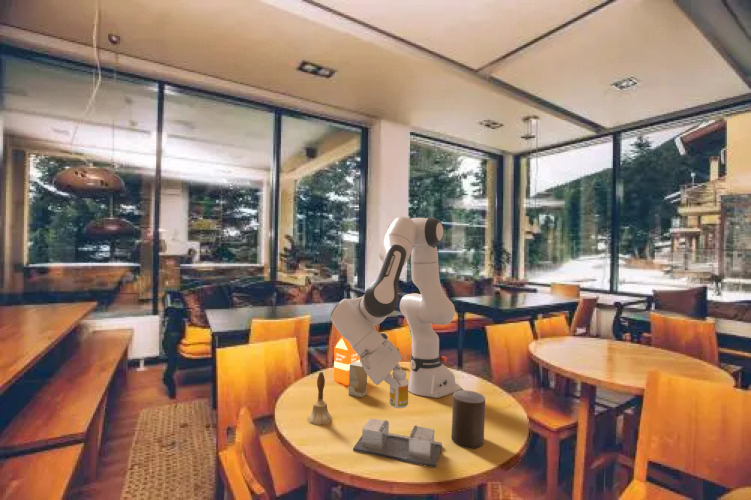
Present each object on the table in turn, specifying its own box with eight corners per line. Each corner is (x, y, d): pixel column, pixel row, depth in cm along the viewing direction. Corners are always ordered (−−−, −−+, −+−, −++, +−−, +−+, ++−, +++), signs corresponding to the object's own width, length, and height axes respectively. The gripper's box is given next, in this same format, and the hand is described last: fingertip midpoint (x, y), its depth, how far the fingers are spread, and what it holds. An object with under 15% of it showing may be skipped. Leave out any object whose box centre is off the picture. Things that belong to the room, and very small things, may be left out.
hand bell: (333, 413, 130) (333, 368, 129) (330, 425, 121) (331, 377, 121) (309, 413, 129) (310, 368, 129) (305, 424, 121) (306, 376, 121)
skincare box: (348, 395, 145) (348, 364, 145) (352, 390, 149) (353, 360, 149) (362, 397, 143) (363, 366, 142) (367, 393, 147) (367, 363, 146)
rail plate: (353, 450, 106) (353, 429, 106) (365, 432, 117) (366, 412, 117) (436, 467, 99) (436, 445, 99) (441, 446, 109) (442, 426, 109)
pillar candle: (464, 451, 107) (466, 400, 107) (445, 435, 116) (446, 388, 116) (490, 445, 111) (492, 396, 111) (470, 429, 120) (472, 384, 120)
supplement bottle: (409, 402, 109) (410, 370, 109) (405, 410, 104) (406, 376, 104) (392, 399, 111) (393, 367, 111) (387, 406, 106) (388, 373, 106)
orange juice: (333, 380, 160) (334, 334, 159) (346, 374, 167) (347, 331, 166) (347, 384, 155) (348, 337, 155) (360, 378, 162) (361, 333, 162)
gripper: (365, 349, 100) (400, 390, 97) (387, 332, 119) (416, 365, 116) (350, 363, 101) (383, 404, 98) (373, 344, 121) (402, 377, 118)
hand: (401, 383), depth 107 cm, fingers closed on supplement bottle, 5 cm apart
